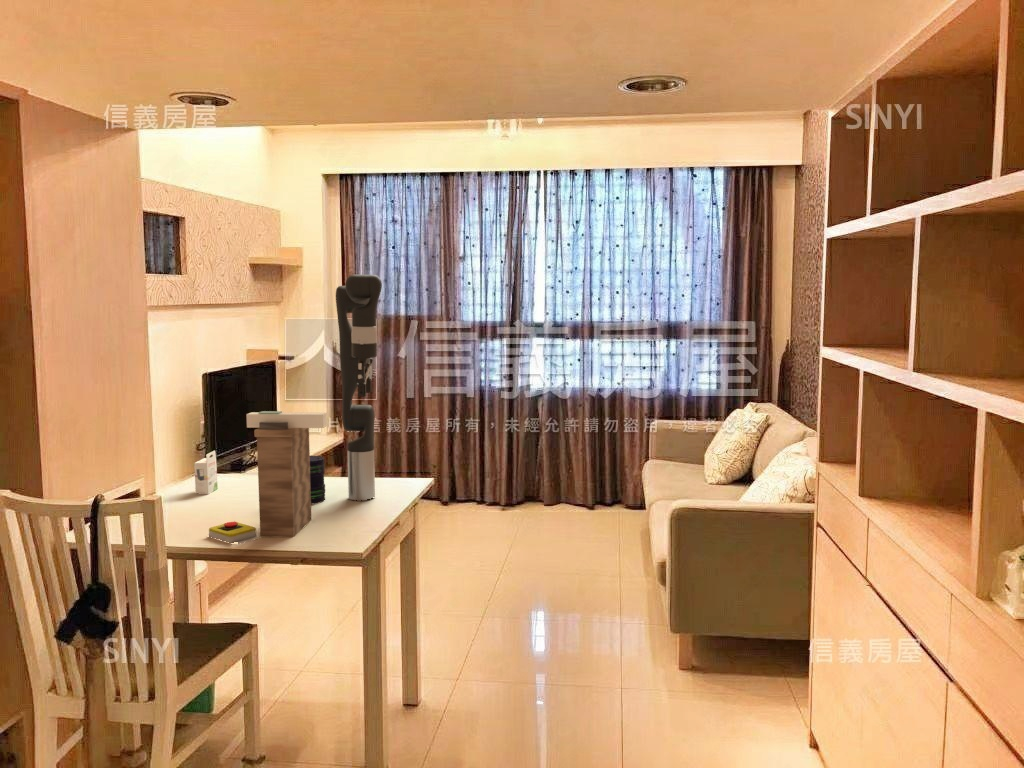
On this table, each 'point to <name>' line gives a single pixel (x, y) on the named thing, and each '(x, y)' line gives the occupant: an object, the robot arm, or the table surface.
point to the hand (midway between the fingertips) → (364, 394)
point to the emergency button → (233, 532)
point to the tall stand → (283, 478)
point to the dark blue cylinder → (317, 479)
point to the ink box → (206, 474)
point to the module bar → (288, 419)
